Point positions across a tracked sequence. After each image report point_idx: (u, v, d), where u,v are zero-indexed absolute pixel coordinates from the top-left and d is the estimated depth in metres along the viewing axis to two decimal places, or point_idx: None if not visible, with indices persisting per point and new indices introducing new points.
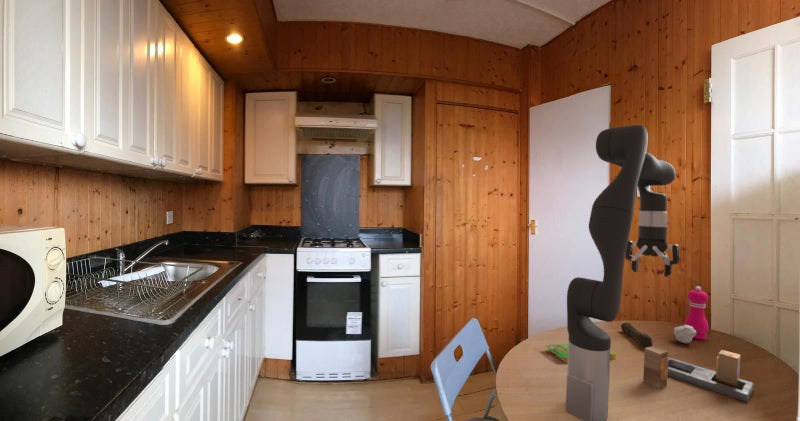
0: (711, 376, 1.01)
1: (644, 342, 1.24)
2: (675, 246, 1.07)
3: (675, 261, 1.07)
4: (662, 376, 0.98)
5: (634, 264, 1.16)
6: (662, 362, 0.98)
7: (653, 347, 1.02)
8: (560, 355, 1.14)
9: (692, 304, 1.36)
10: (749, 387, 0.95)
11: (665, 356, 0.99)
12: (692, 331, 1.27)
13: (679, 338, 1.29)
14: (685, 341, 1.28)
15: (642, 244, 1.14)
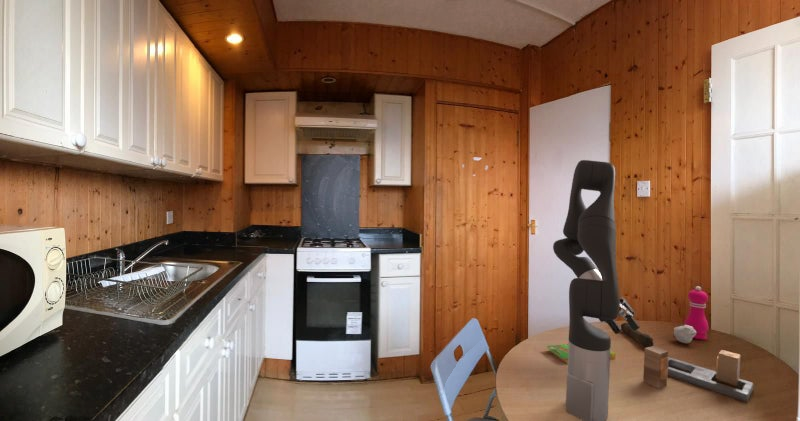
0: (711, 376, 1.01)
1: (645, 342, 1.24)
2: (623, 298, 1.16)
3: (633, 311, 1.13)
4: (662, 376, 0.98)
5: (615, 323, 1.07)
6: (662, 362, 0.98)
7: (653, 347, 1.02)
8: (561, 355, 1.13)
9: (692, 304, 1.36)
10: (749, 387, 0.95)
11: (665, 356, 0.99)
12: (692, 331, 1.27)
13: (679, 338, 1.29)
14: (685, 341, 1.28)
15: None
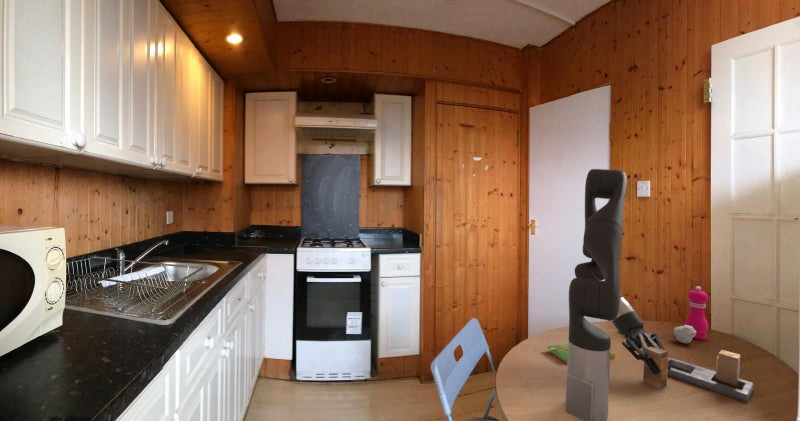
0: (711, 376, 1.01)
1: None
2: (655, 334, 1.06)
3: None
4: (662, 376, 0.98)
5: (653, 362, 0.99)
6: (662, 362, 0.98)
7: (653, 347, 1.02)
8: (562, 356, 1.13)
9: (692, 304, 1.36)
10: (749, 387, 0.95)
11: (665, 356, 0.99)
12: (692, 331, 1.27)
13: (679, 338, 1.29)
14: (685, 341, 1.28)
15: (634, 334, 1.04)
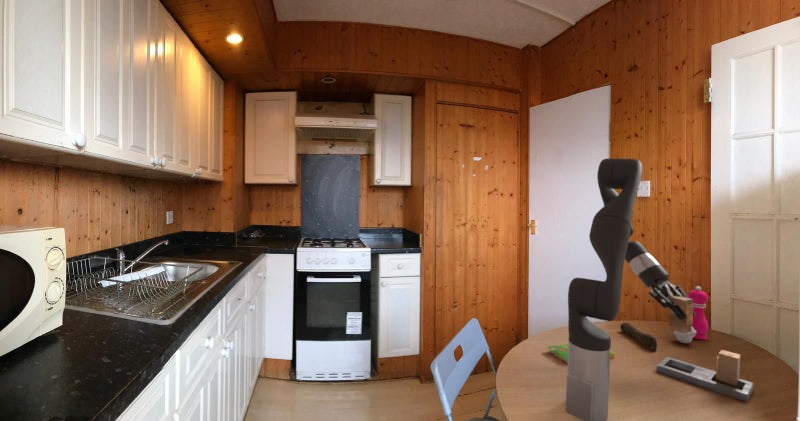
0: (711, 376, 1.01)
1: (648, 342, 1.24)
2: (680, 286, 1.13)
3: None
4: (688, 321, 1.04)
5: (679, 309, 1.05)
6: (687, 308, 1.04)
7: (678, 296, 1.08)
8: (563, 356, 1.13)
9: None
10: (749, 387, 0.95)
11: (690, 303, 1.05)
12: (692, 331, 1.27)
13: (679, 338, 1.29)
14: (685, 341, 1.28)
15: (660, 285, 1.10)
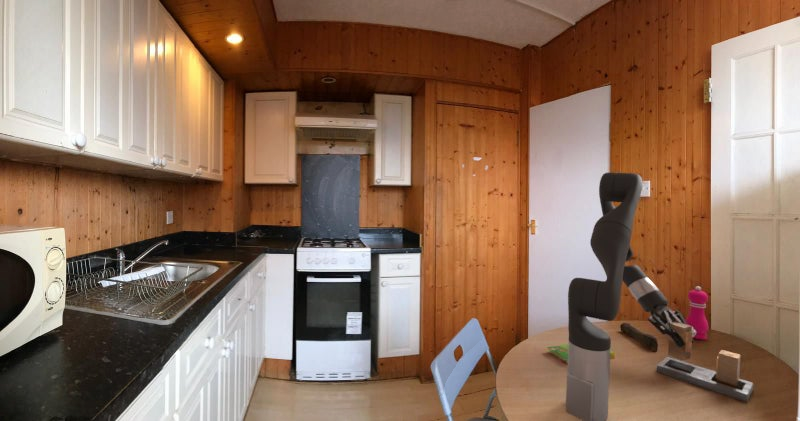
0: (711, 376, 1.01)
1: (649, 343, 1.24)
2: (679, 311, 1.13)
3: (686, 324, 1.09)
4: (686, 349, 1.05)
5: (678, 336, 1.05)
6: (686, 336, 1.04)
7: (677, 322, 1.08)
8: (563, 357, 1.12)
9: (692, 304, 1.36)
10: (749, 387, 0.95)
11: (689, 330, 1.05)
12: (692, 331, 1.27)
13: None
14: None
15: (659, 311, 1.10)
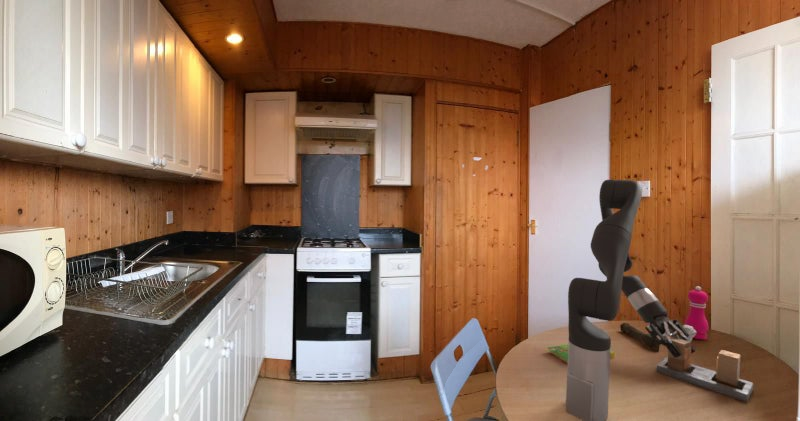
0: (711, 376, 1.01)
1: (651, 343, 1.24)
2: (677, 320, 1.13)
3: (687, 333, 1.10)
4: (686, 365, 1.05)
5: (674, 346, 1.05)
6: (685, 352, 1.04)
7: (676, 338, 1.09)
8: (564, 357, 1.12)
9: (692, 304, 1.36)
10: (749, 387, 0.95)
11: (688, 346, 1.06)
12: (692, 331, 1.27)
13: None
14: None
15: (659, 322, 1.10)
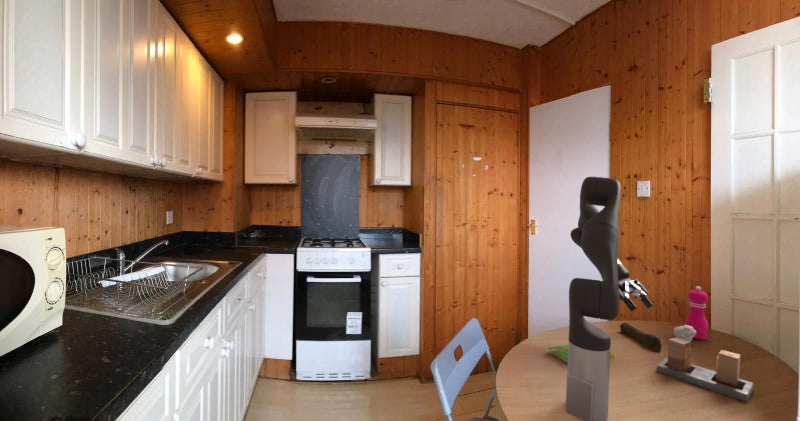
0: (711, 376, 1.01)
1: (652, 343, 1.24)
2: (637, 280, 1.25)
3: (647, 291, 1.22)
4: (686, 365, 1.05)
5: (630, 301, 1.17)
6: (685, 352, 1.04)
7: (676, 338, 1.09)
8: (565, 357, 1.12)
9: (692, 304, 1.36)
10: (749, 387, 0.95)
11: (688, 346, 1.06)
12: (692, 331, 1.27)
13: None
14: None
15: (621, 282, 1.22)
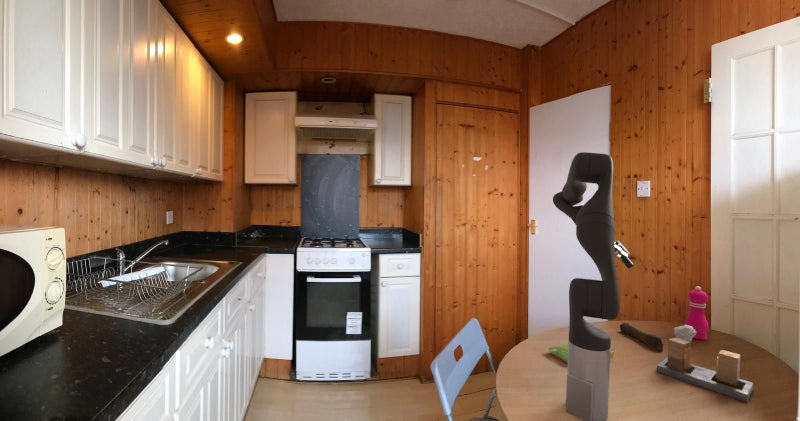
0: (711, 376, 1.01)
1: (654, 343, 1.24)
2: (618, 241, 1.23)
3: (628, 252, 1.20)
4: (686, 365, 1.05)
5: None
6: (685, 352, 1.04)
7: (676, 338, 1.09)
8: (565, 358, 1.12)
9: (692, 304, 1.36)
10: (749, 387, 0.95)
11: (688, 346, 1.06)
12: (692, 331, 1.27)
13: None
14: None
15: None
